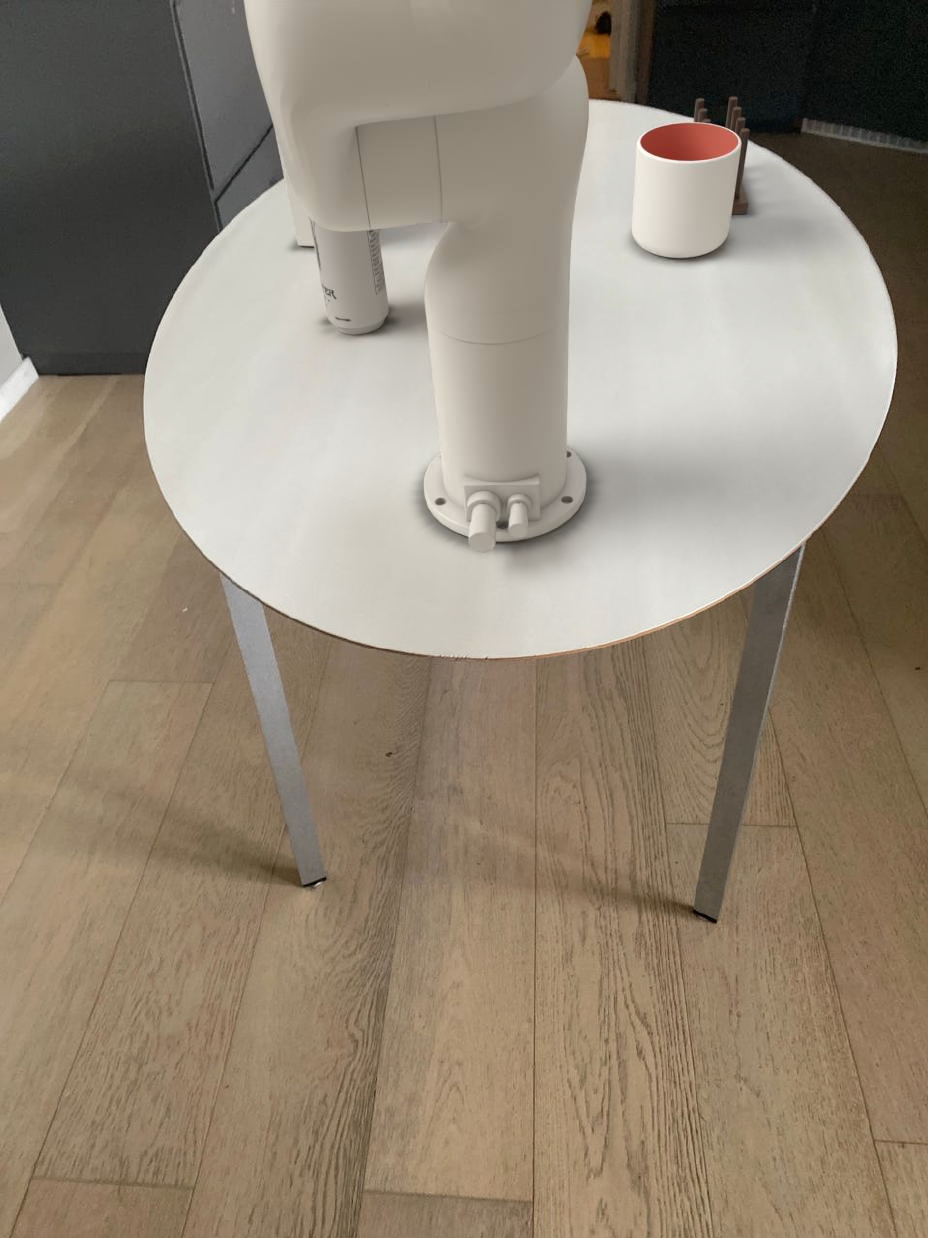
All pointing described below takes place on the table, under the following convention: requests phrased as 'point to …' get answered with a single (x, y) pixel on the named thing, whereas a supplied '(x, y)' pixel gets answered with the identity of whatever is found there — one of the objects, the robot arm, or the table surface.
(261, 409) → the table surface
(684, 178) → the cup
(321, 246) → the energy drink can
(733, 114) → the dish rack
